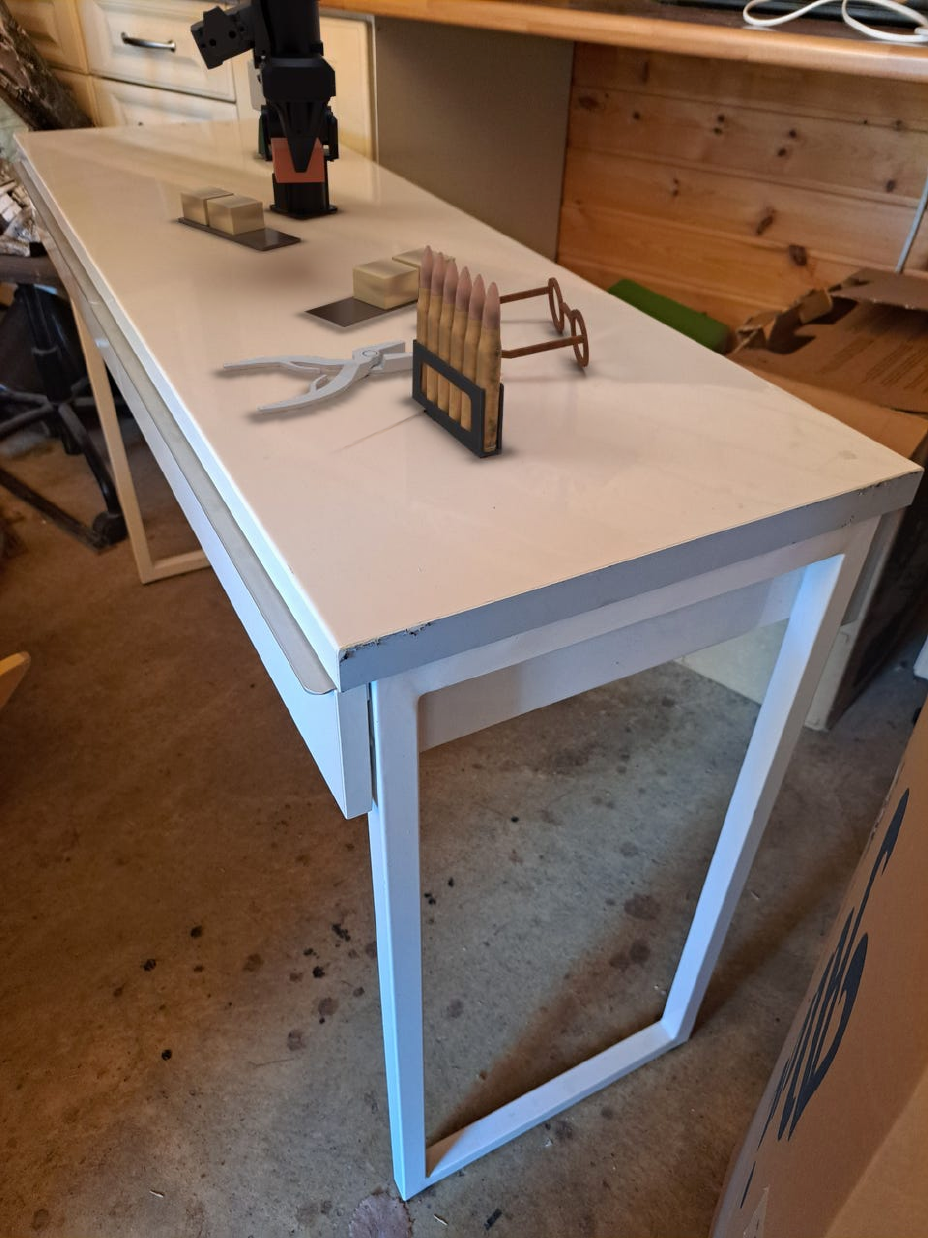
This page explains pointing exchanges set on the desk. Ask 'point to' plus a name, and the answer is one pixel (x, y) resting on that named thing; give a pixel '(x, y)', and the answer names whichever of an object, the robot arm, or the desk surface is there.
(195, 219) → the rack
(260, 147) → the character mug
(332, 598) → the desk surface
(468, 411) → the ammunition clip
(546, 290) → the glasses
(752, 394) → the desk surface
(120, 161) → the desk surface
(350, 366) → the pliers
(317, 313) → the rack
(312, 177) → the red block
